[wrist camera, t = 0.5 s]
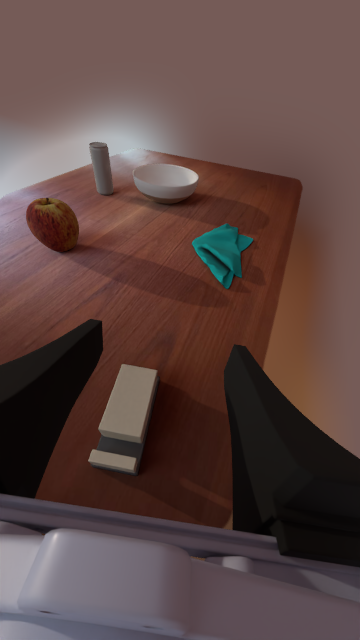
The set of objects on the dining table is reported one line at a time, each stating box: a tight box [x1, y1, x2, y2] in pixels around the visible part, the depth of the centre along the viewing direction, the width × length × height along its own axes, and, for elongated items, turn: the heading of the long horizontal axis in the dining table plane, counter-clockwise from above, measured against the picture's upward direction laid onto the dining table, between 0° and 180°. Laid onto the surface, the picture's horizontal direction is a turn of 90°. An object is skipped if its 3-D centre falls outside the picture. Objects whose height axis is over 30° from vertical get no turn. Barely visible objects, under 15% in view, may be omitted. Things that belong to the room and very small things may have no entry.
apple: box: [26, 198, 79, 252], centre depth 45 cm, size 9×9×10 cm
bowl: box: [133, 164, 199, 204], centre depth 69 cm, size 20×20×6 cm
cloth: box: [192, 223, 253, 289], centre depth 52 cm, size 26×14×2 cm, turn 158°
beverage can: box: [89, 142, 114, 195], centre depth 65 cm, size 5×5×12 cm
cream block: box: [89, 364, 160, 476], centre depth 26 cm, size 11×5×4 cm, turn 171°
